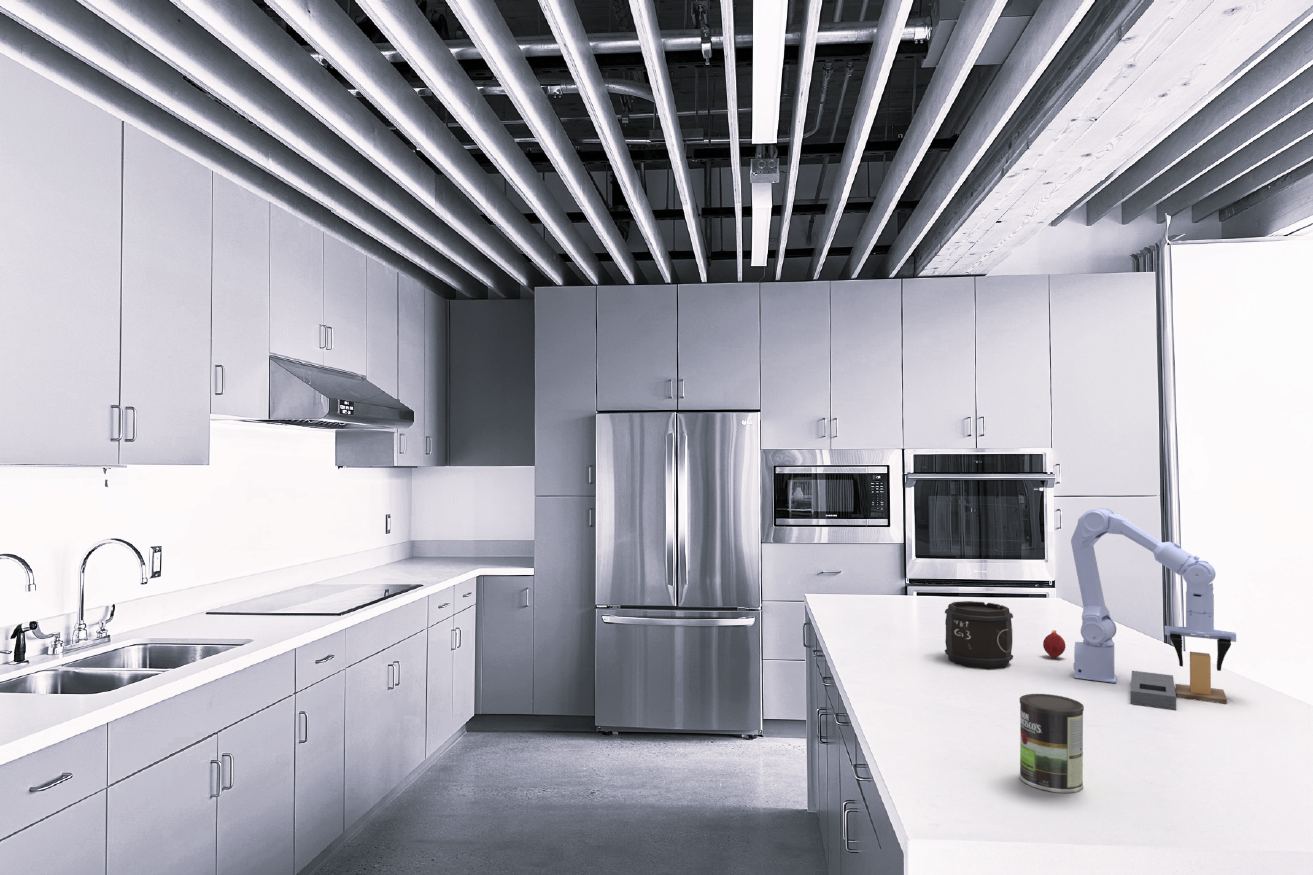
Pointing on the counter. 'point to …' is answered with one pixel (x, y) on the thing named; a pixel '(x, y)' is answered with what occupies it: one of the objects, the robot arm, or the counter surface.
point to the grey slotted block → (1153, 690)
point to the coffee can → (1051, 743)
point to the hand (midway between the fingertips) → (1199, 667)
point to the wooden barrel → (978, 634)
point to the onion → (1054, 644)
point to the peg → (1200, 673)
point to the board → (1186, 693)
